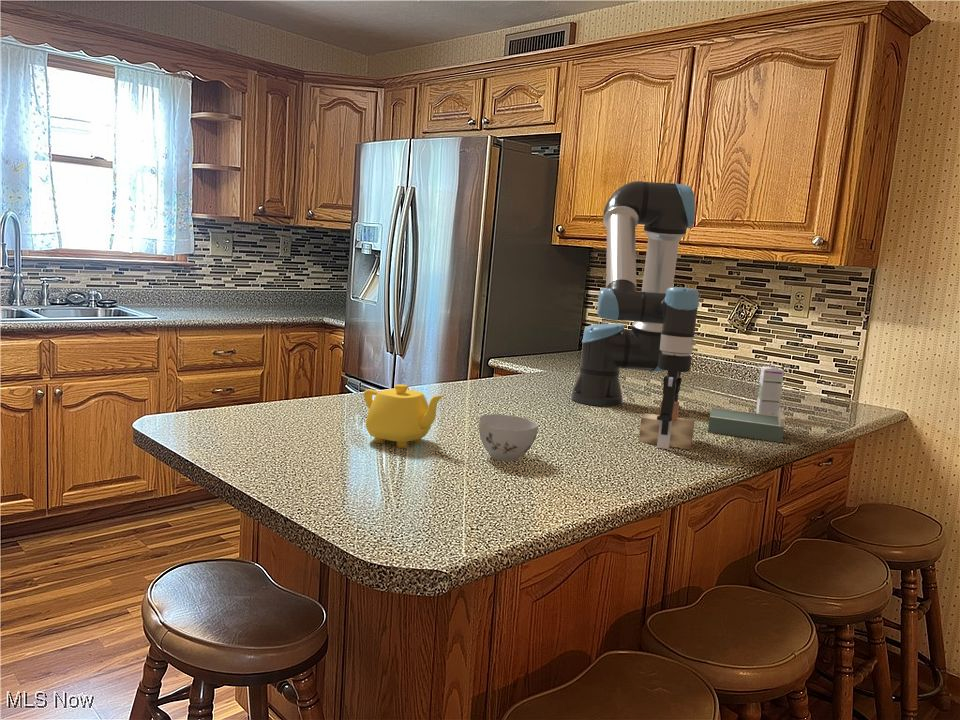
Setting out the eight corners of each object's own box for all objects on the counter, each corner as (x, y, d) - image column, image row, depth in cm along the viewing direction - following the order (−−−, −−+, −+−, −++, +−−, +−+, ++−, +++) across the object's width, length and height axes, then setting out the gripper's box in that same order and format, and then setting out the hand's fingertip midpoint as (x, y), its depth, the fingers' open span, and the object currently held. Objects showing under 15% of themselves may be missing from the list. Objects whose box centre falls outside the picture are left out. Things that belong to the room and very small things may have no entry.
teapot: (424, 457, 153) (428, 397, 151) (344, 439, 162) (347, 382, 160) (456, 444, 165) (460, 388, 163) (379, 428, 174) (382, 375, 172)
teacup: (518, 470, 148) (521, 431, 147) (464, 458, 154) (466, 420, 153) (550, 455, 161) (553, 419, 160) (498, 444, 167) (501, 409, 166)
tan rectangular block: (638, 442, 180) (641, 417, 179) (641, 436, 186) (644, 413, 185) (690, 449, 176) (693, 424, 175) (691, 444, 182) (694, 420, 181)
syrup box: (778, 419, 220) (785, 370, 218) (757, 416, 221) (764, 368, 219) (775, 415, 225) (781, 367, 223) (754, 413, 227) (760, 365, 224)
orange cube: (658, 419, 179) (660, 402, 178) (660, 416, 183) (662, 399, 182) (676, 421, 178) (678, 404, 177) (677, 418, 181) (679, 402, 181)
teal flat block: (707, 432, 196) (710, 409, 195) (709, 421, 209) (712, 400, 208) (781, 442, 190) (785, 419, 189) (779, 431, 203) (782, 409, 203)
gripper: (688, 361, 165) (677, 456, 168) (695, 350, 188) (685, 433, 191) (653, 357, 167) (643, 450, 170) (664, 346, 190) (655, 429, 194)
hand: (665, 441), depth 181 cm, fingers open, 12 cm apart
